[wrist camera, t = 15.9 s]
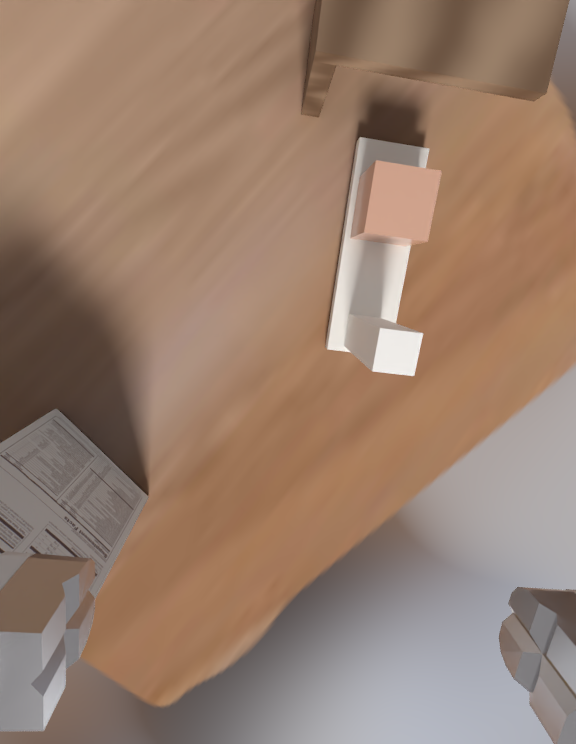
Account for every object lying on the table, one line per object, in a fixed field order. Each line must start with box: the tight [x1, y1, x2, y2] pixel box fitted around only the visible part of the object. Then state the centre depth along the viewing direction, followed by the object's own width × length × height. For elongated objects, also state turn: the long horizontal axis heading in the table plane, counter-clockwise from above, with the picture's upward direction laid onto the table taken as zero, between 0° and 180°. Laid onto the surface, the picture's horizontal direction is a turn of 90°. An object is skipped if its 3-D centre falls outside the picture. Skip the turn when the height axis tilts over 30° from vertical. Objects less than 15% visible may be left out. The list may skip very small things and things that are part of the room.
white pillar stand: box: [325, 137, 429, 376], centre depth 31 cm, size 6×18×11 cm, turn 173°
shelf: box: [301, 0, 569, 117], centre depth 28 cm, size 15×7×10 cm, turn 83°
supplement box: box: [0, 409, 148, 598], centre depth 32 cm, size 13×13×18 cm
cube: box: [350, 160, 442, 246], centre depth 32 cm, size 5×5×5 cm
